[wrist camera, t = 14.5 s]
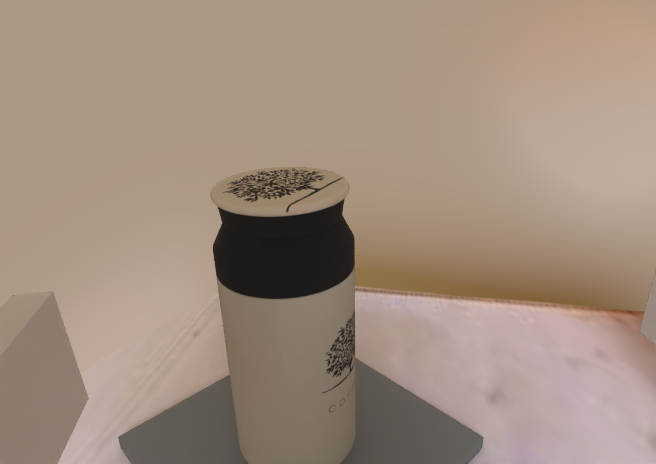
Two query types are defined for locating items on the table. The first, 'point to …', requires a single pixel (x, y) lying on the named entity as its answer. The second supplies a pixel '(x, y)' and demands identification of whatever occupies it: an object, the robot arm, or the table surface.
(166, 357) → the table surface
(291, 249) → the travel mug
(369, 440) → the mat
